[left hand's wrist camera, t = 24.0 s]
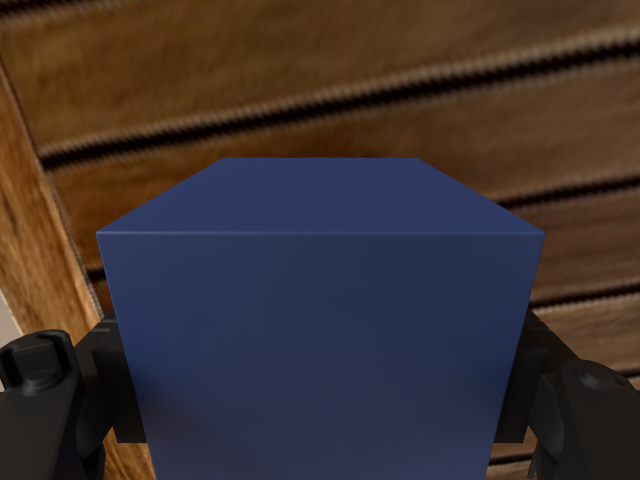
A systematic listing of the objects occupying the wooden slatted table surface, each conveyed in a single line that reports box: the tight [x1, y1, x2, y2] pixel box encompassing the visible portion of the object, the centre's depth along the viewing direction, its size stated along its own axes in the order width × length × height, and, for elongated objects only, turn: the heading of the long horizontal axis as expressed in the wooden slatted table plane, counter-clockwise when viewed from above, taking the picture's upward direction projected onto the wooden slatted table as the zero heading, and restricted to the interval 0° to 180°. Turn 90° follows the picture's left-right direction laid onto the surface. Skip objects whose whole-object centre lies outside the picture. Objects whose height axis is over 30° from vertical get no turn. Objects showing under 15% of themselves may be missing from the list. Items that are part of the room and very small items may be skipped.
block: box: [96, 158, 545, 480], centre depth 12 cm, size 8×8×9 cm
